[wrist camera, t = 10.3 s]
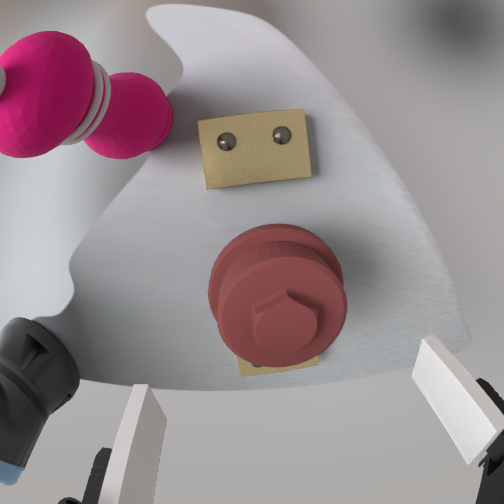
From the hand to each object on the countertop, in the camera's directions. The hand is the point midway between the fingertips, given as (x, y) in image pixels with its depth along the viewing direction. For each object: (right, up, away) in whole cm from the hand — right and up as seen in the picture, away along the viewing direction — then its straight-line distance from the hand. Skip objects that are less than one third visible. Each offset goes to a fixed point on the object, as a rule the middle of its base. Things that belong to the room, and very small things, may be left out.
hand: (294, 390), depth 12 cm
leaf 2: (-2, +16, +13) cm, 20 cm away
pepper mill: (-12, +19, +11) cm, 25 cm away
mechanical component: (0, +6, +16) cm, 17 cm away
